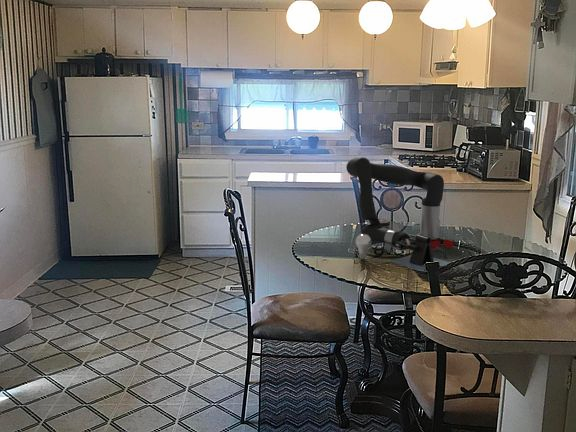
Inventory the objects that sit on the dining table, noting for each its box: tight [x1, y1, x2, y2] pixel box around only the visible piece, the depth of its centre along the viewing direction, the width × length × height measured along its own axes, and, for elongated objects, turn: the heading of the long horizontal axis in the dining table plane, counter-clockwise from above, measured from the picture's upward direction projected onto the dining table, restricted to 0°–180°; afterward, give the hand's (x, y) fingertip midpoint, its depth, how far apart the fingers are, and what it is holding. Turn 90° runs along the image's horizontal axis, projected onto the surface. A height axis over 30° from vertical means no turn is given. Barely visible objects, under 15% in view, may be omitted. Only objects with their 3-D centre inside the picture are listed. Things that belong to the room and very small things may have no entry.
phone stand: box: [409, 234, 434, 266], centre depth 262 cm, size 9×6×12 cm, turn 125°
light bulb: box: [355, 233, 372, 261], centre depth 267 cm, size 7×7×12 cm
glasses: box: [430, 238, 473, 260], centre depth 280 cm, size 14×16×5 cm
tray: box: [389, 255, 450, 271], centre depth 264 cm, size 20×20×1 cm
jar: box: [378, 218, 391, 229], centre depth 310 cm, size 10×10×8 cm
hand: (423, 247), depth 262 cm, fingers open, 8 cm apart
